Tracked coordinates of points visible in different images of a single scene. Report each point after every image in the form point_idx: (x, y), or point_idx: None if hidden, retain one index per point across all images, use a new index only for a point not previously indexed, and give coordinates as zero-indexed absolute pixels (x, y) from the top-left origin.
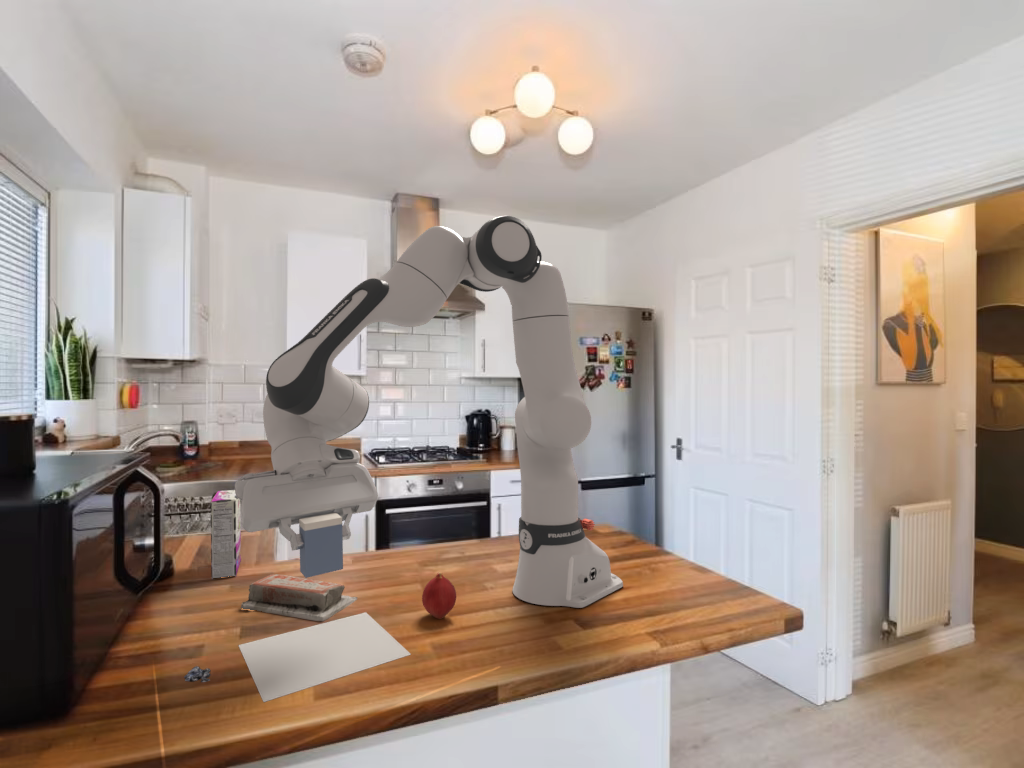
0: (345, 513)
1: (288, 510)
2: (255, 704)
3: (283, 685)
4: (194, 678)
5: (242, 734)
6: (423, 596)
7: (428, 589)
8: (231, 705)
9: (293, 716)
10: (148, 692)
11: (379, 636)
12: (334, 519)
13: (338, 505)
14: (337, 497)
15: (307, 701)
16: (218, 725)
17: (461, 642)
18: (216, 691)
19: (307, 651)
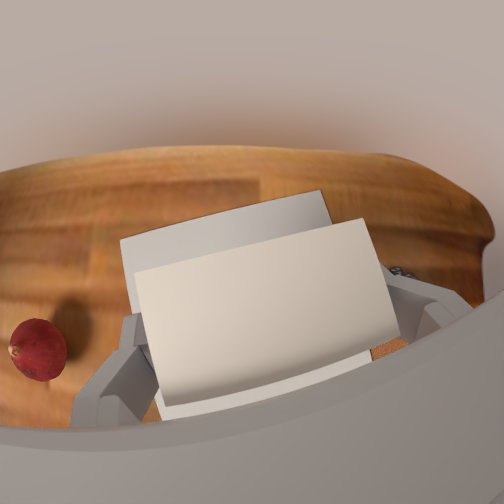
0: (109, 399)
1: (481, 325)
2: (328, 197)
3: (300, 219)
4: (409, 276)
5: (330, 150)
6: (57, 351)
7: (42, 343)
8: (354, 206)
9: (282, 158)
10: (442, 273)
11: None
12: (184, 262)
13: (131, 426)
14: (122, 493)
15: (267, 180)
16: (357, 174)
17: (55, 257)
18: (378, 246)
19: None
